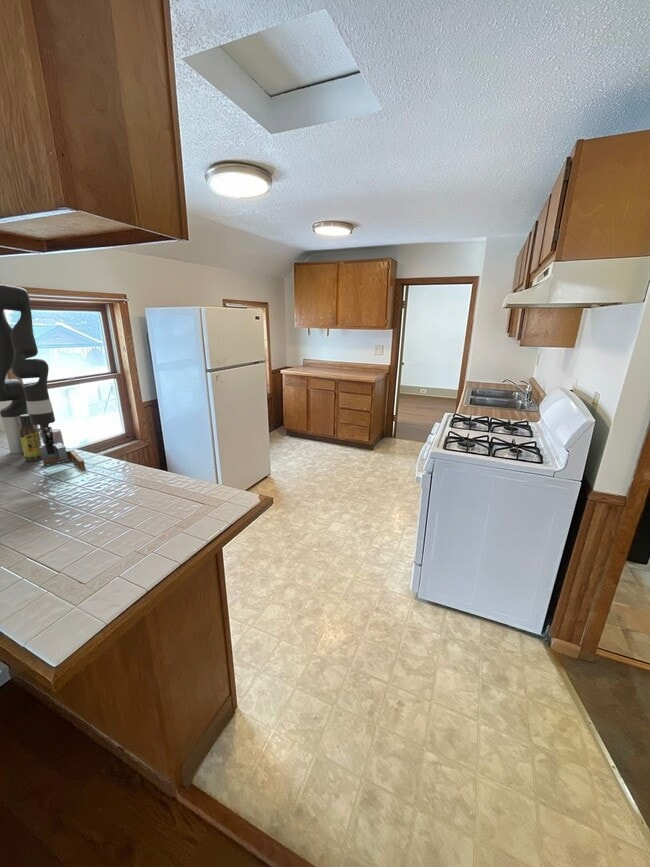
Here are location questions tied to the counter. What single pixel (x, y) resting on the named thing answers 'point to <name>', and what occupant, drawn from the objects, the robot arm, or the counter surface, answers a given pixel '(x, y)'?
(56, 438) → the energy drink
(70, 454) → the brown angled frame
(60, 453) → the bracket
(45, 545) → the counter surface
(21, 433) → the sauce bottle
